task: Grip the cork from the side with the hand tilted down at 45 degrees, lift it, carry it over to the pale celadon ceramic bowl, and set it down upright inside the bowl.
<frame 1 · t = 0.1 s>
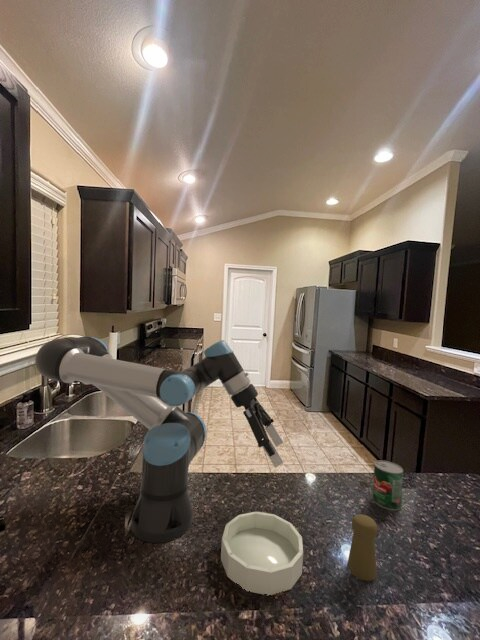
hand: (279, 453, 85), 15 cm above the countertop, tool tilted 35°, fingers open, 13 cm apart
bowl: (261, 557, 66), on the countertop
canned tomato: (386, 503, 91), on the countertop
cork: (361, 569, 65), on the countertop
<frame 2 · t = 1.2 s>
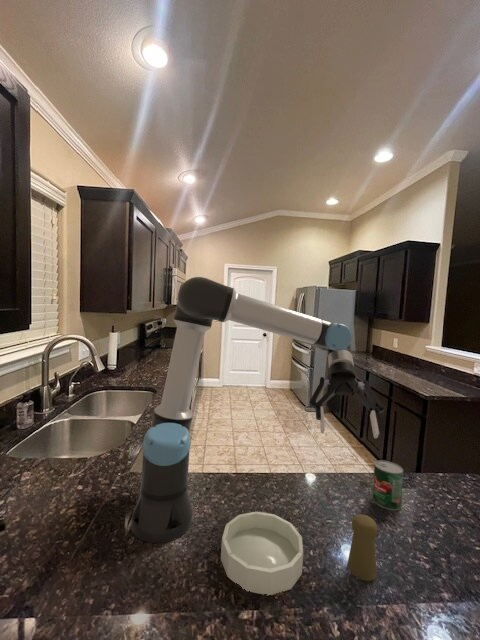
hand: (349, 433, 78), 25 cm above the countertop, tool tilted 45°, fingers open, 13 cm apart
nothing on the countertop moved.
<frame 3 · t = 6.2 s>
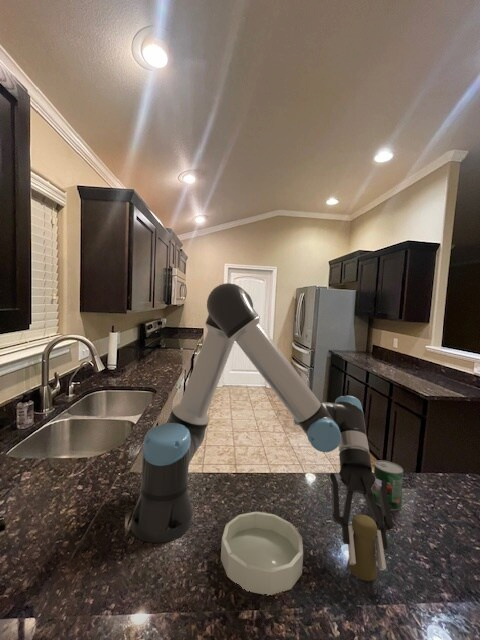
hand: (367, 566, 61), 4 cm above the countertop, tool tilted 45°, fingers closed on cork, 5 cm apart
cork: (361, 569, 65), on the countertop, touching gripper
everything else where it was.
when the fingers open (6 cm above the countertop, at t = 11.3 s): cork drops 1 cm, resting on bowl.
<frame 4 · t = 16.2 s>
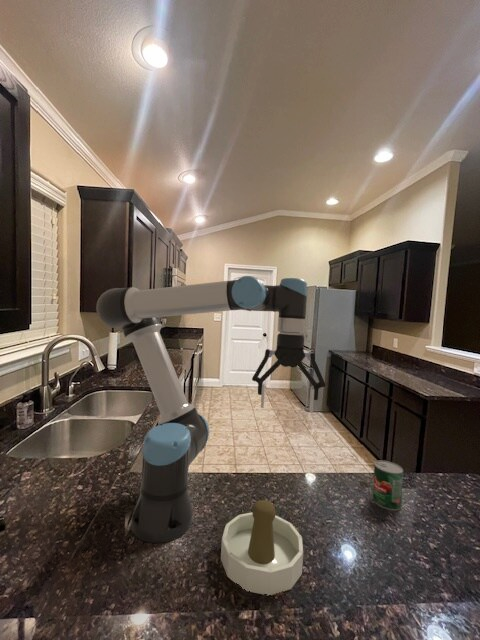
hand: (286, 408, 84), 29 cm above the countertop, tool pointing down, fingers open, 13 cm apart
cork: (261, 554, 66), point 1 cm above the countertop, touching bowl
everything else where it was.
at the end: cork inside the target area on the bowl (0.1 cm from its centre), point 0.8 cm above the bowl's base; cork tilted 0°; the gripper is holding nothing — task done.
